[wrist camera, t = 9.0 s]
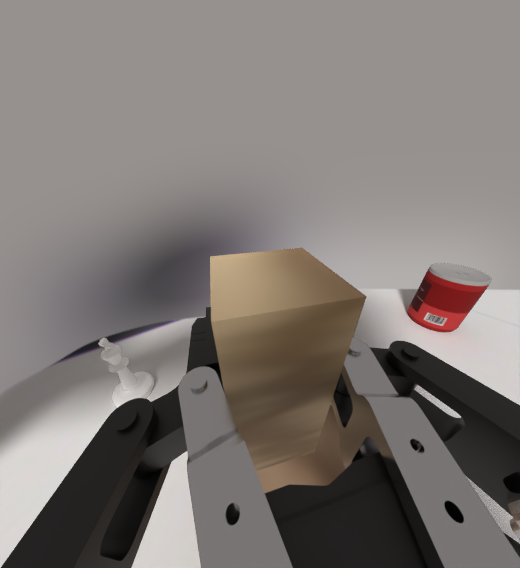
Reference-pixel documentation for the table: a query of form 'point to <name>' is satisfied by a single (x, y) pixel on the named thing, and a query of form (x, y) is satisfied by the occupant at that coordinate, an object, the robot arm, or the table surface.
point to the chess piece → (125, 375)
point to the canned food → (447, 296)
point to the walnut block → (309, 462)
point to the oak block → (280, 346)
